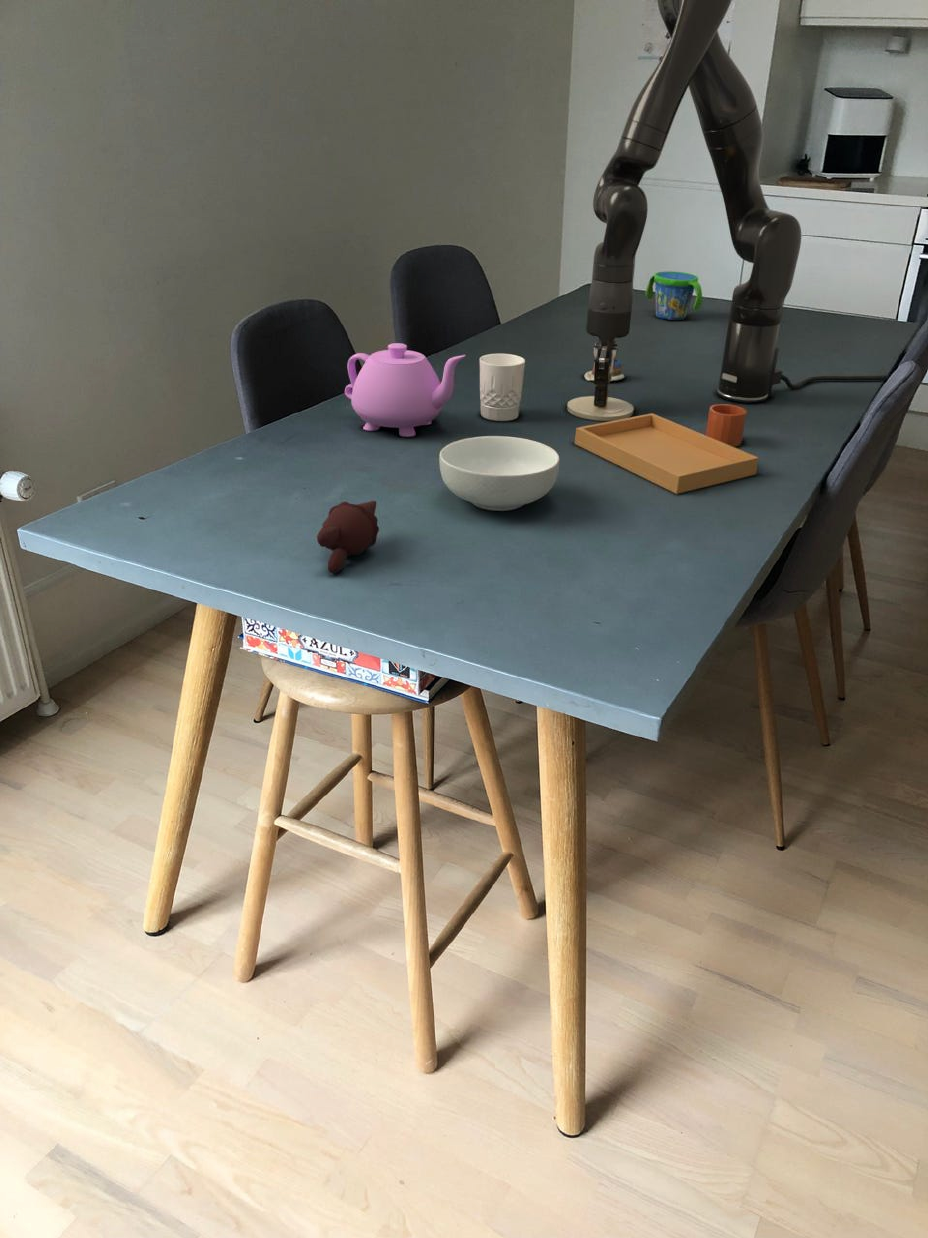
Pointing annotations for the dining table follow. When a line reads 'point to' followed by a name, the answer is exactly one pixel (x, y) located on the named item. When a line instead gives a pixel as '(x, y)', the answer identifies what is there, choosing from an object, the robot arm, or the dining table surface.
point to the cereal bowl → (499, 471)
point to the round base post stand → (600, 408)
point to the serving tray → (666, 452)
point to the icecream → (348, 531)
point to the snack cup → (674, 294)
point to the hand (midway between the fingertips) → (600, 403)
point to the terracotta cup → (726, 423)
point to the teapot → (398, 389)
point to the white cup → (501, 386)
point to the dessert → (616, 376)
